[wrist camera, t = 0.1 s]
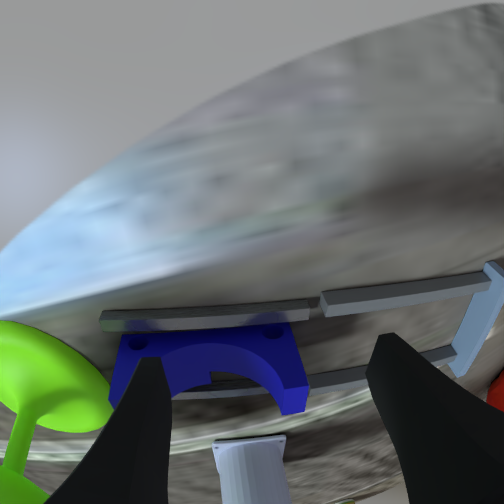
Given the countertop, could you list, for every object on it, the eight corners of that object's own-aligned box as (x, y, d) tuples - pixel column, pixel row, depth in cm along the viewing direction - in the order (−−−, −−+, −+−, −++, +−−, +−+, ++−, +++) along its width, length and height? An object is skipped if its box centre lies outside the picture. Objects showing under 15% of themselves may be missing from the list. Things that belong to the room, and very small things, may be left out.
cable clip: (137, 372, 24) (130, 435, 19) (122, 333, 22) (107, 399, 17) (285, 361, 25) (302, 422, 20) (288, 320, 23) (309, 385, 18)
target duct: (451, 355, 29) (464, 374, 26) (303, 389, 27) (311, 415, 25) (493, 261, 23) (513, 278, 21) (322, 279, 21) (337, 307, 19)
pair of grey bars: (294, 380, 26) (297, 389, 25) (132, 390, 25) (131, 399, 24) (306, 299, 22) (310, 308, 21) (102, 311, 20) (98, 320, 19)
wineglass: (-13, 397, 25) (-50, 525, 9) (-42, 294, 18) (-133, 467, 2) (110, 441, 29) (102, 584, 14) (125, 357, 23) (103, 591, 7)
